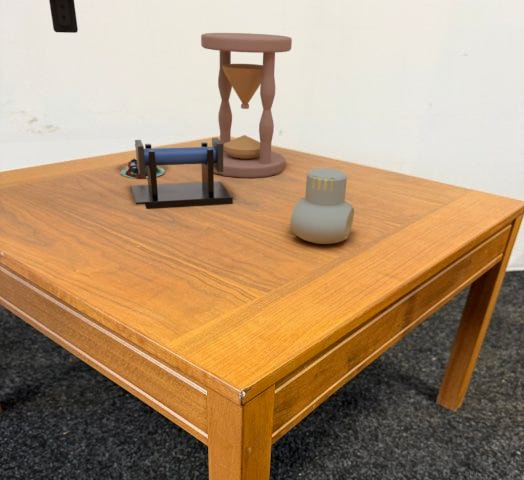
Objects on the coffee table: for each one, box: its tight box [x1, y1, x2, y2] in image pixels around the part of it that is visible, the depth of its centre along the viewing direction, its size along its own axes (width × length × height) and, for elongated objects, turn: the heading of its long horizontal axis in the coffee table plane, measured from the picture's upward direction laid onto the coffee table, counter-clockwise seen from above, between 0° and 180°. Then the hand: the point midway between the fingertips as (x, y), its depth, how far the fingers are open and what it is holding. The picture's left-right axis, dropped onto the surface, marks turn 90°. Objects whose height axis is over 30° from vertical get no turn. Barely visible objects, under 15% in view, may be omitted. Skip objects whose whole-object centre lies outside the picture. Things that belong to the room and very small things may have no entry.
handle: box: [134, 137, 223, 175], centre depth 96 cm, size 15×5×5 cm, turn 106°
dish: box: [120, 157, 166, 180], centre depth 113 cm, size 8×7×8 cm
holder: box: [130, 141, 234, 210], centre depth 98 cm, size 17×10×9 cm, turn 106°
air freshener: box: [290, 167, 355, 245], centre depth 83 cm, size 11×8×10 cm
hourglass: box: [200, 32, 293, 179], centre depth 113 cm, size 18×18×25 cm
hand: (66, 30), depth 80 cm, fingers open, 9 cm apart
